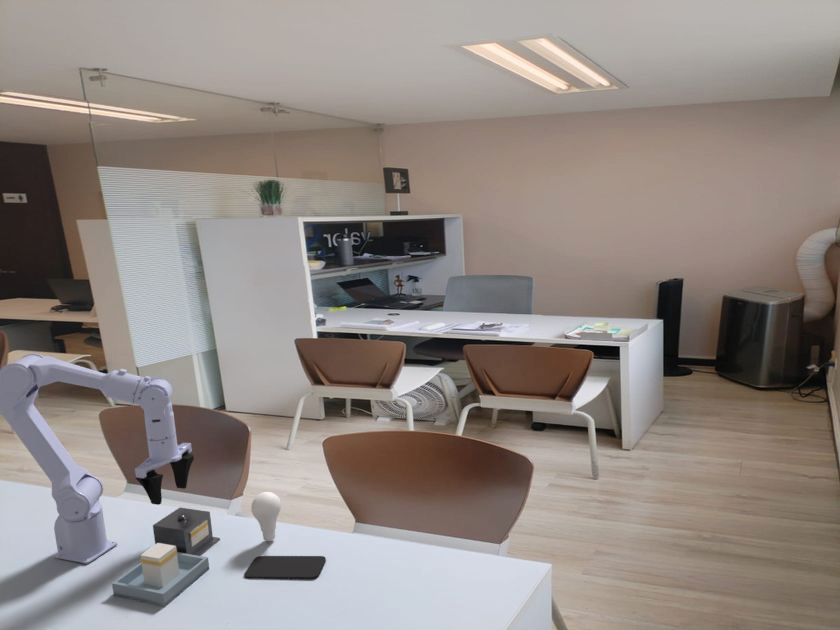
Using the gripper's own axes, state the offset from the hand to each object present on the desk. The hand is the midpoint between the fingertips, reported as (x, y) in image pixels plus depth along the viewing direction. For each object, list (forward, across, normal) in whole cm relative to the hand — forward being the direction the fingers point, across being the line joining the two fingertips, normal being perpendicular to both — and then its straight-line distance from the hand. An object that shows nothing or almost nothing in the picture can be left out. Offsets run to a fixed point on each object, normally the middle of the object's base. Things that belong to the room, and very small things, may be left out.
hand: (169, 495), depth 133 cm
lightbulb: (+11, +5, -21) cm, 24 cm away
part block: (+10, -14, -9) cm, 19 cm away
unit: (+10, -2, -5) cm, 12 cm away
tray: (+10, -14, -9) cm, 19 cm away
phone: (+11, -3, -30) cm, 32 cm away
